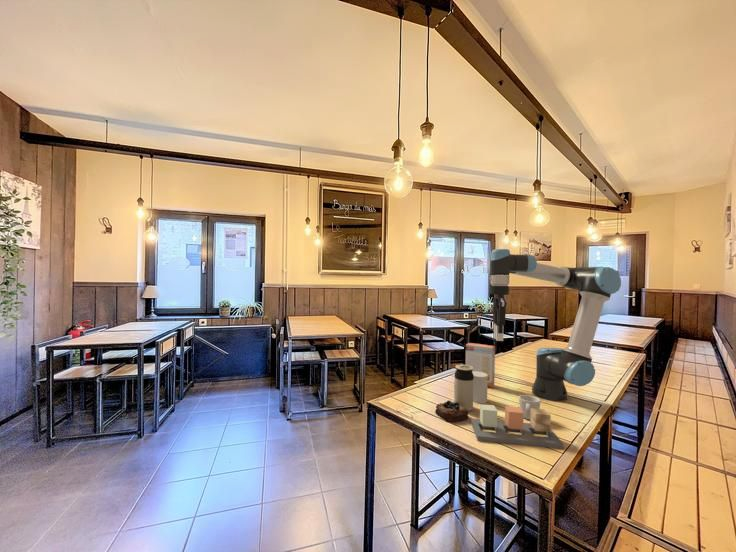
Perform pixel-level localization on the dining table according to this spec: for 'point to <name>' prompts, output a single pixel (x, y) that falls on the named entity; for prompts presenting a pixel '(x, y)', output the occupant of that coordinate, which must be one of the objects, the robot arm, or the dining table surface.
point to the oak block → (540, 420)
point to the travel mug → (464, 386)
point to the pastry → (451, 412)
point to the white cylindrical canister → (480, 387)
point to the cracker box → (482, 360)
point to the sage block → (488, 415)
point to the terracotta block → (514, 417)
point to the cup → (528, 404)
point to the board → (515, 435)
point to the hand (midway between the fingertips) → (498, 339)
